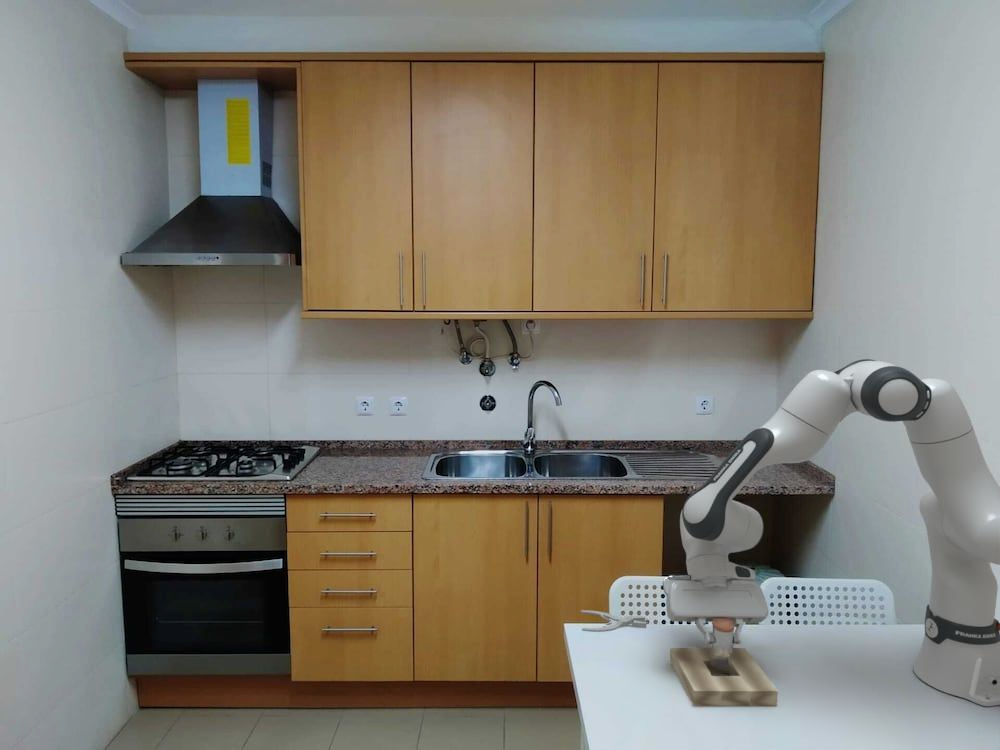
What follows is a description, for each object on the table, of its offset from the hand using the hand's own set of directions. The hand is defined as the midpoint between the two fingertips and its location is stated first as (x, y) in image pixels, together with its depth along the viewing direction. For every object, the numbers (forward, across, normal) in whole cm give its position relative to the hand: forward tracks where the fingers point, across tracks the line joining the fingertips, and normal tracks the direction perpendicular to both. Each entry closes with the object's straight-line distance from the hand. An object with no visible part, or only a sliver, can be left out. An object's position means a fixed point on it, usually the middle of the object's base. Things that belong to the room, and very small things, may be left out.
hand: (723, 643), depth 137 cm
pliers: (-12, -16, +25) cm, 32 cm away
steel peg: (+3, 0, +4) cm, 5 cm away
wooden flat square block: (+6, 0, +7) cm, 9 cm away
